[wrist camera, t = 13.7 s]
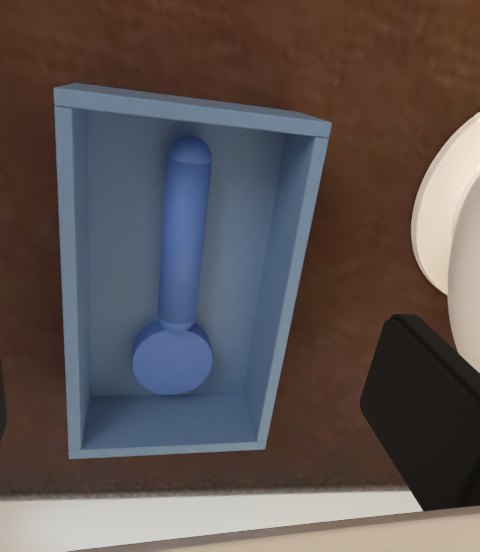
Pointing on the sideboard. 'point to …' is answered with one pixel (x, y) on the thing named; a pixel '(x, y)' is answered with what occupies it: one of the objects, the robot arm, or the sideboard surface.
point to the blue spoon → (179, 278)
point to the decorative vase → (453, 233)
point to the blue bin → (147, 259)
